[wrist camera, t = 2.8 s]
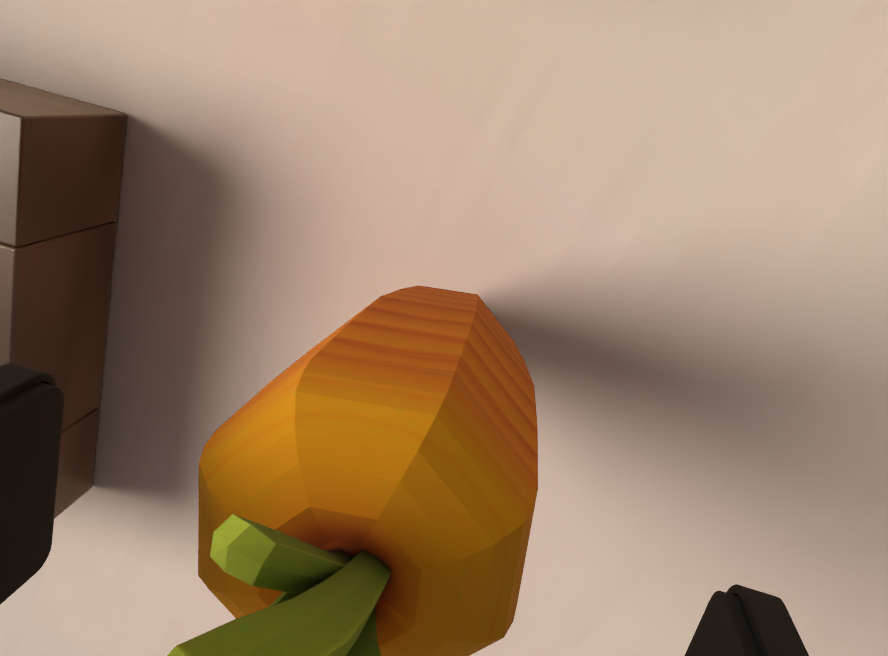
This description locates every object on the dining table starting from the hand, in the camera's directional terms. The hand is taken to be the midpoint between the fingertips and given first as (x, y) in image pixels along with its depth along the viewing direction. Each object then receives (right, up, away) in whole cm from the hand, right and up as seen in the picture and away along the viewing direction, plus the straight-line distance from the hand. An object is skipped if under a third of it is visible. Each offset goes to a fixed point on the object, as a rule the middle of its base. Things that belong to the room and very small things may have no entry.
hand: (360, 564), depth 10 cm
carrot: (+2, +4, +10) cm, 11 cm away
